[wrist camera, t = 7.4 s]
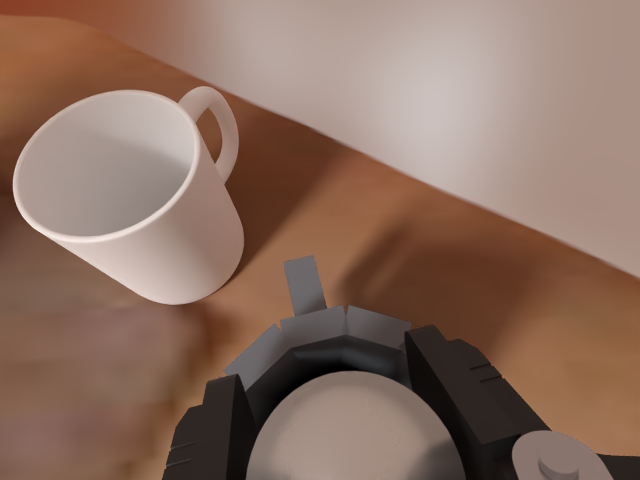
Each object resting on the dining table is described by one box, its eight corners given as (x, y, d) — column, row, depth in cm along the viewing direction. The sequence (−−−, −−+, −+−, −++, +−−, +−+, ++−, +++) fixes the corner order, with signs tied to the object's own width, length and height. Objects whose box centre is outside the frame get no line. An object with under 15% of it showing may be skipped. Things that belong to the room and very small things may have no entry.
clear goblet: (293, 532, 16) (208, 790, 5) (269, 394, 18) (175, 360, 7) (419, 496, 16) (598, 659, 5) (380, 365, 18) (450, 292, 7)
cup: (100, 273, 26) (-30, 192, 16) (203, 145, 30) (146, 24, 21) (200, 330, 24) (117, 276, 15) (295, 185, 28) (276, 72, 19)
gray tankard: (279, 552, 19) (206, 733, 8) (245, 334, 24) (170, 264, 13) (438, 505, 20) (572, 616, 9) (375, 302, 24) (411, 209, 13)
